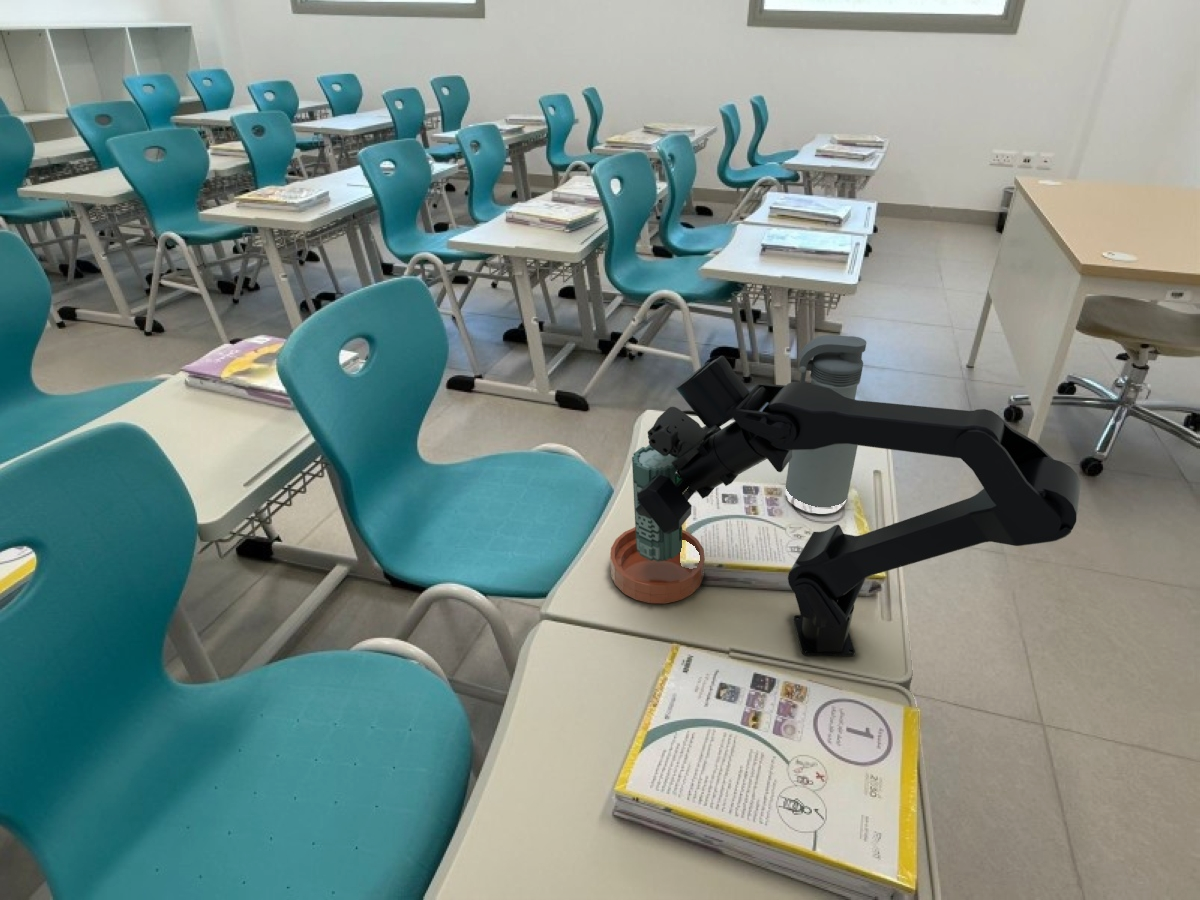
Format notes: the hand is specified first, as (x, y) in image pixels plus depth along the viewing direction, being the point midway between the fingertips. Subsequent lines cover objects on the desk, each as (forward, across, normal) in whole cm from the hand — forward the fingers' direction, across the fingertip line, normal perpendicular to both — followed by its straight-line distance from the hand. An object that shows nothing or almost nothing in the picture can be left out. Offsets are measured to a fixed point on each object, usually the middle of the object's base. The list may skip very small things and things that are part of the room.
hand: (649, 499), depth 97 cm
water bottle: (-1, -28, +20) cm, 35 cm away
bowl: (+8, 0, +10) cm, 13 cm away
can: (+5, 0, +7) cm, 8 cm away
